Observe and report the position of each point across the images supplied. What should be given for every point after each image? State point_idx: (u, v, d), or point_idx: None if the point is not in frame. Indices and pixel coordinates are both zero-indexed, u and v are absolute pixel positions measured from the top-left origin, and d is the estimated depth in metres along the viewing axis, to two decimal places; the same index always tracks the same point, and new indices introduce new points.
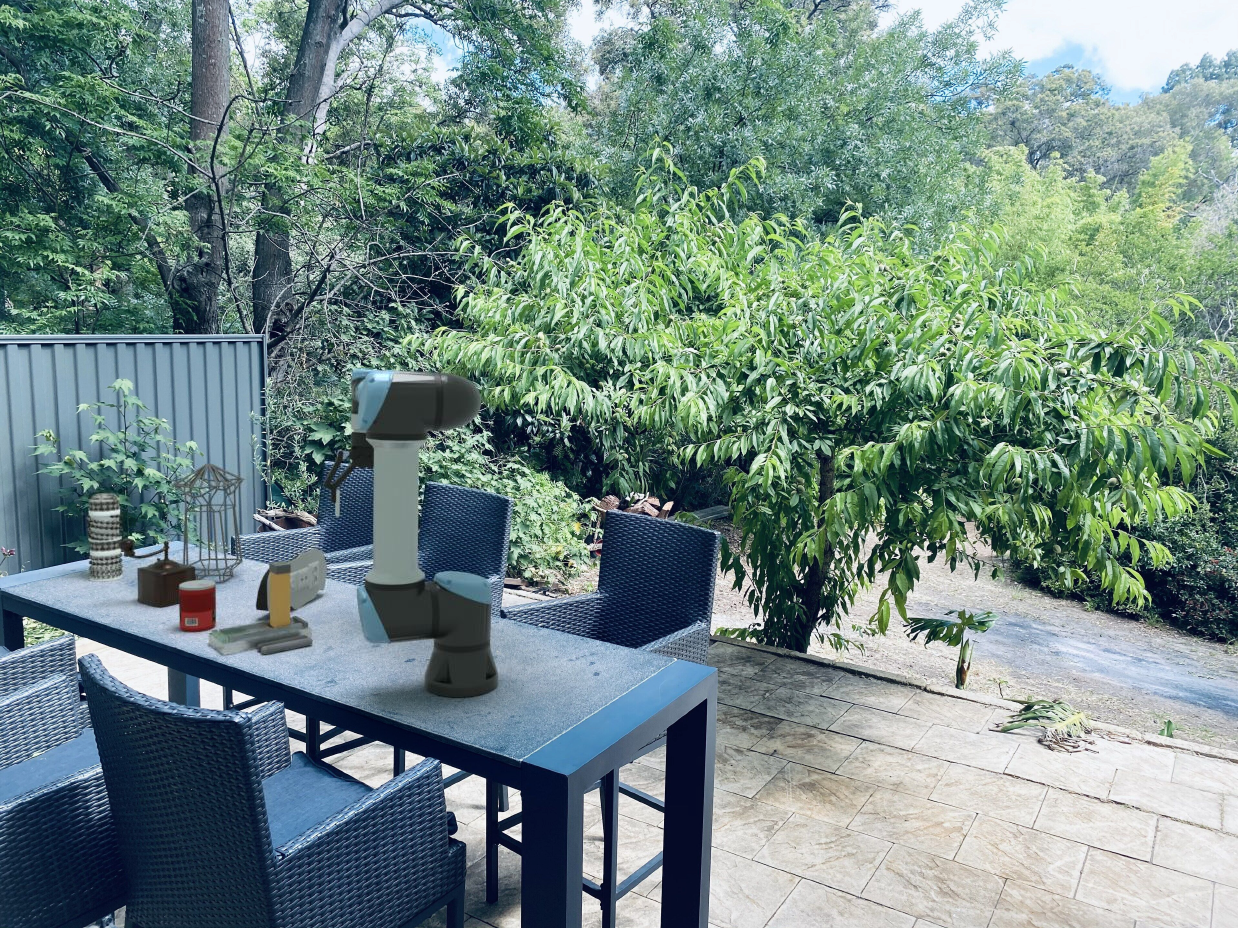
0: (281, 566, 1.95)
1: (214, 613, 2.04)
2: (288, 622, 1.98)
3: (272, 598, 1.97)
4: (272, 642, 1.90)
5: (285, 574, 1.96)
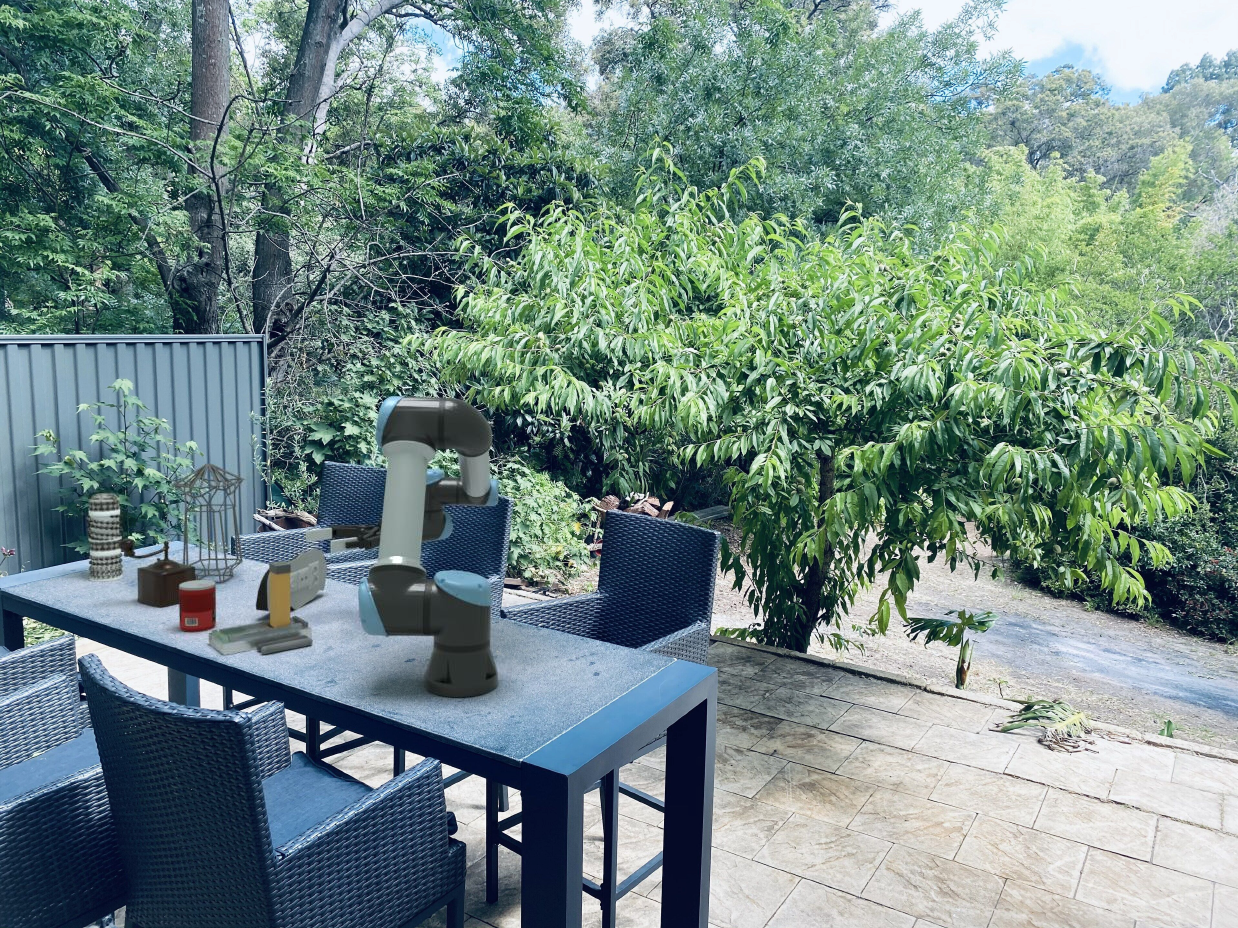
0: (281, 566, 1.95)
1: (214, 613, 2.04)
2: (288, 622, 1.98)
3: (272, 598, 1.97)
4: (272, 642, 1.90)
5: (285, 574, 1.96)
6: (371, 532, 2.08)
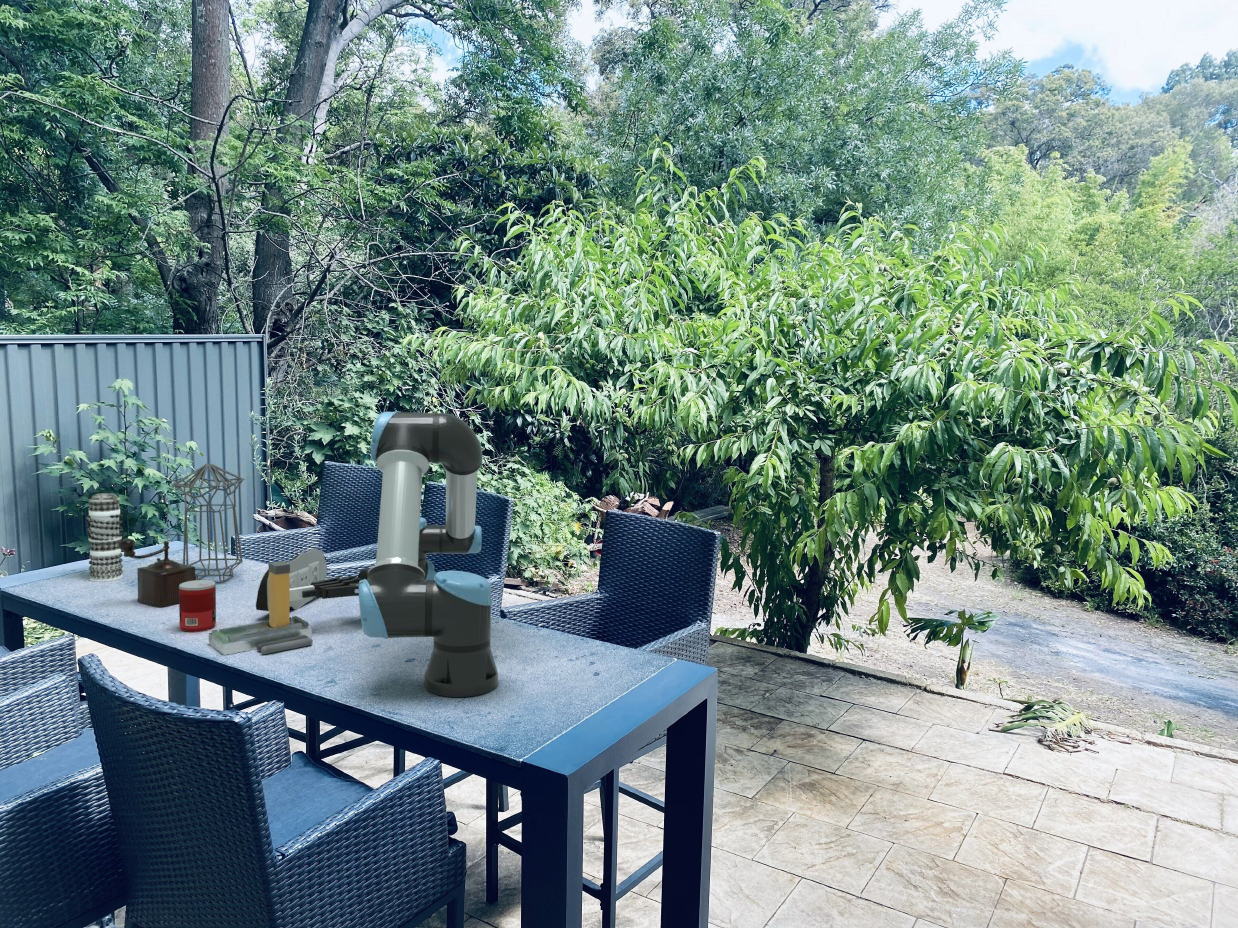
0: (280, 566, 1.95)
1: (214, 613, 2.04)
2: (287, 622, 1.98)
3: (271, 598, 1.97)
4: (272, 642, 1.90)
5: (284, 574, 1.96)
6: (343, 582, 2.07)
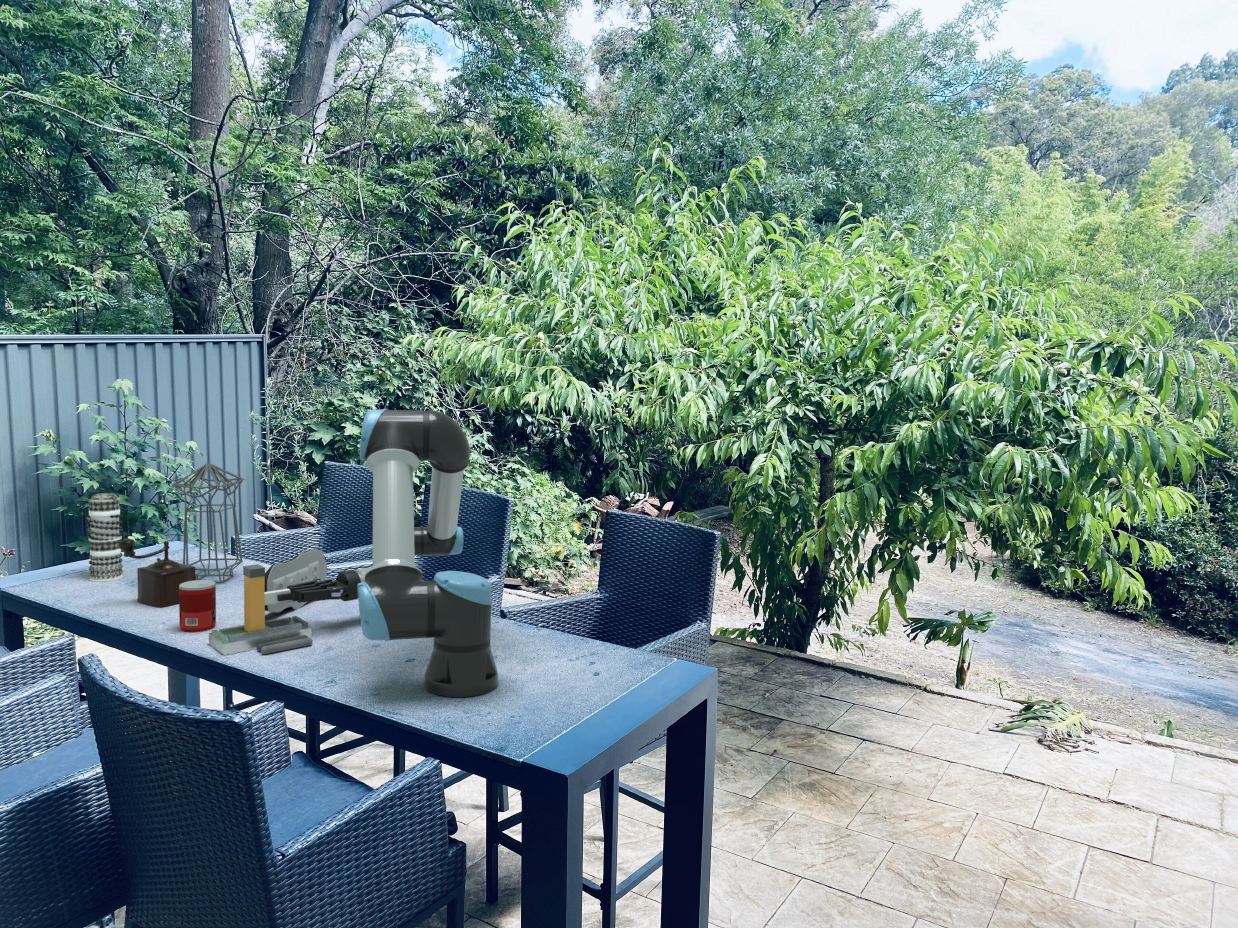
0: (255, 569, 1.91)
1: (214, 613, 2.04)
2: (262, 627, 1.94)
3: (246, 602, 1.93)
4: (272, 642, 1.90)
5: (259, 578, 1.92)
6: (320, 585, 2.03)
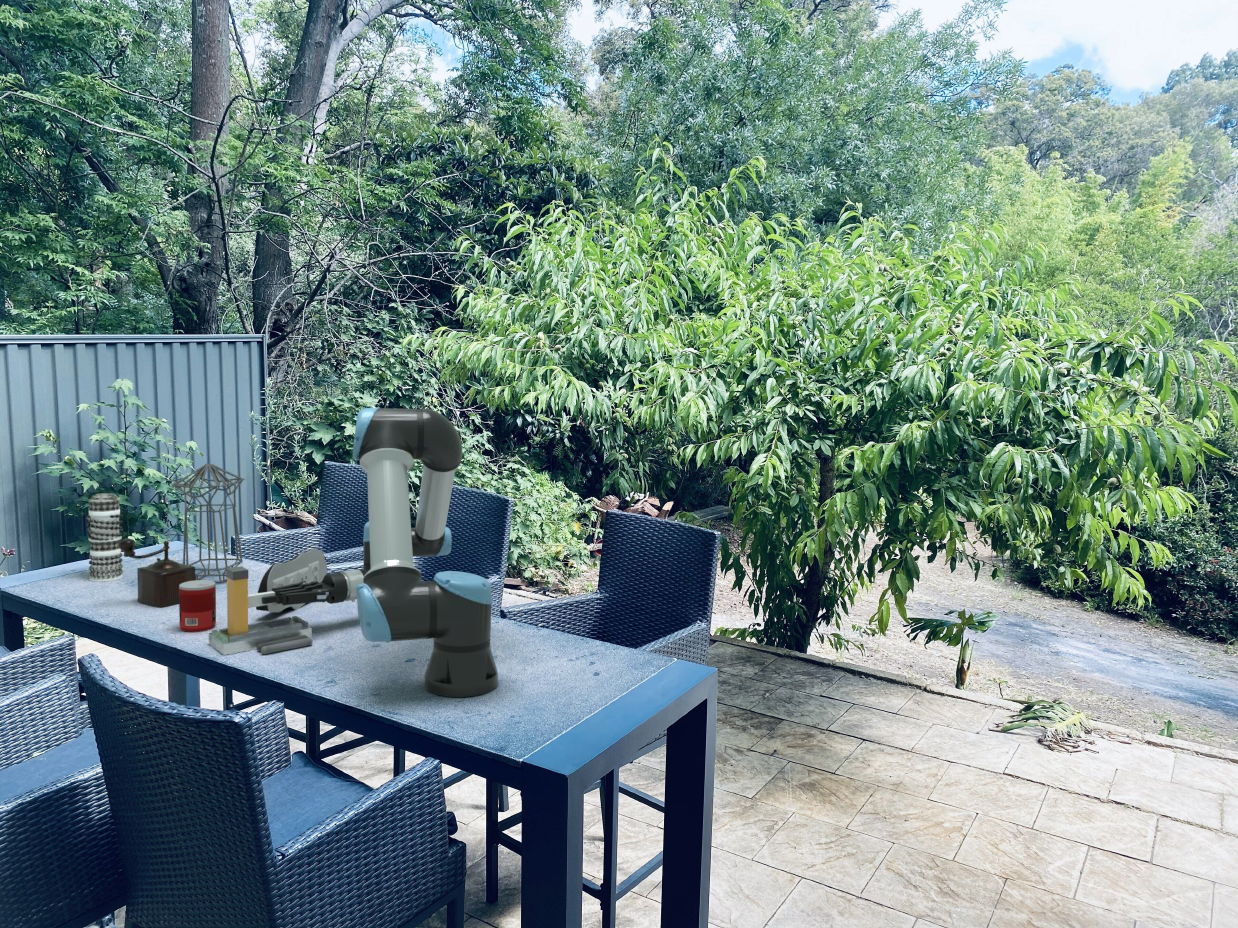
0: (238, 572, 1.88)
1: (214, 613, 2.04)
2: (246, 630, 1.91)
3: (229, 605, 1.90)
4: (272, 642, 1.90)
5: (242, 580, 1.89)
6: (305, 588, 2.01)
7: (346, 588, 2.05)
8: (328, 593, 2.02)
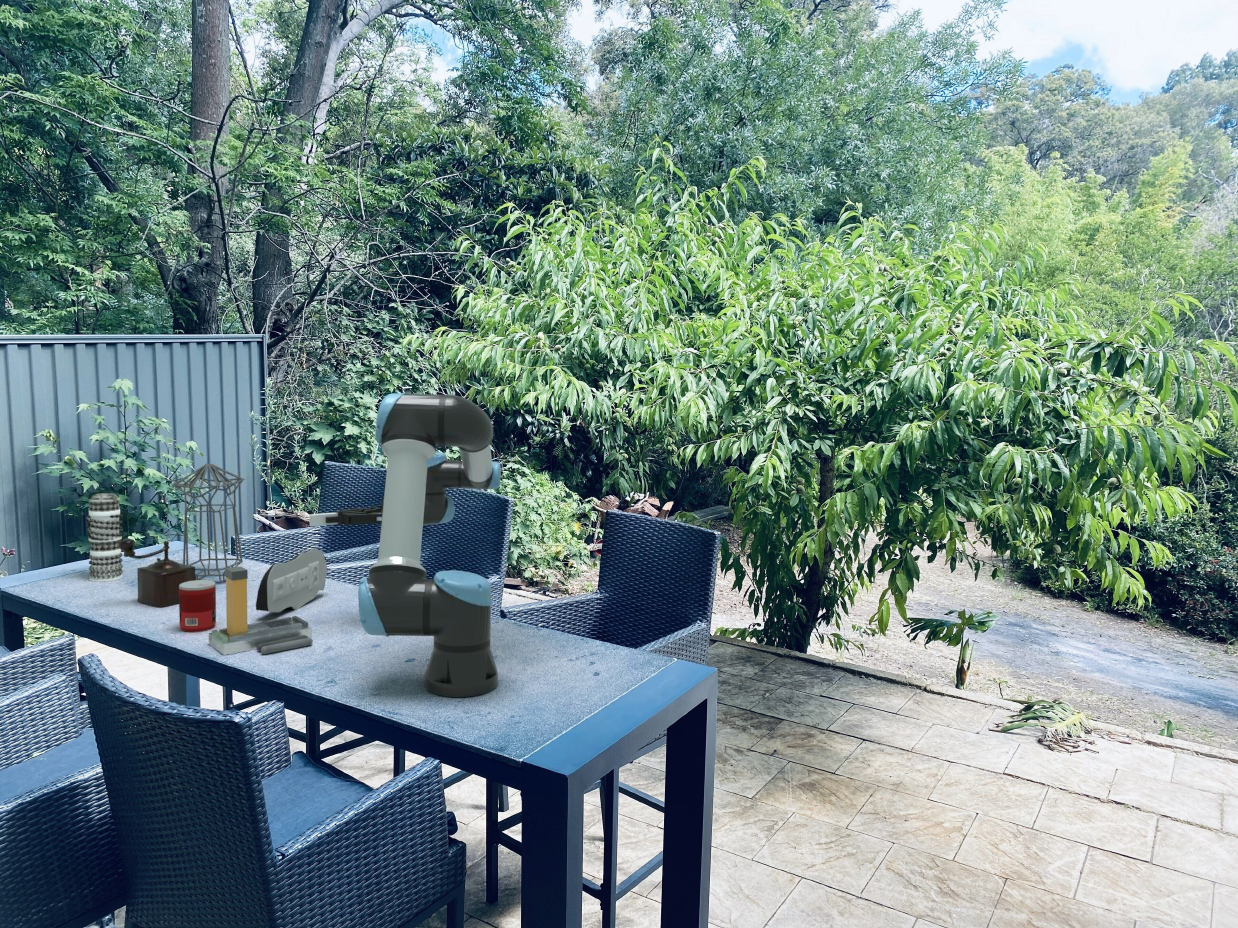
0: (237, 572, 1.88)
1: (214, 613, 2.04)
2: (245, 630, 1.91)
3: (228, 605, 1.90)
4: (272, 642, 1.90)
5: (241, 580, 1.89)
6: (365, 511, 2.10)
7: None
8: None
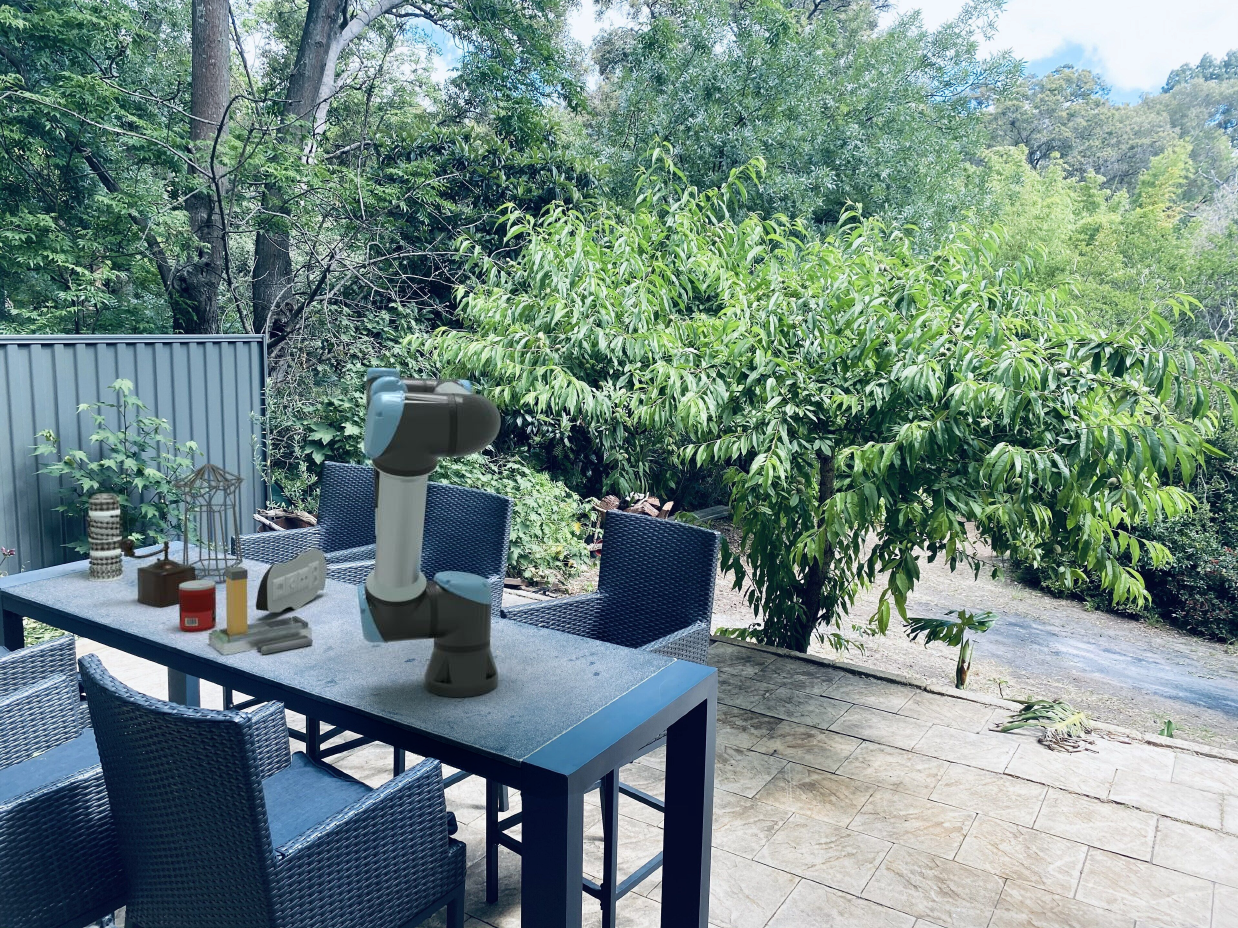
0: (237, 572, 1.88)
1: (214, 613, 2.04)
2: (245, 630, 1.91)
3: (228, 605, 1.90)
4: (272, 642, 1.90)
5: (241, 580, 1.89)
6: (376, 478, 1.92)
7: None
8: None
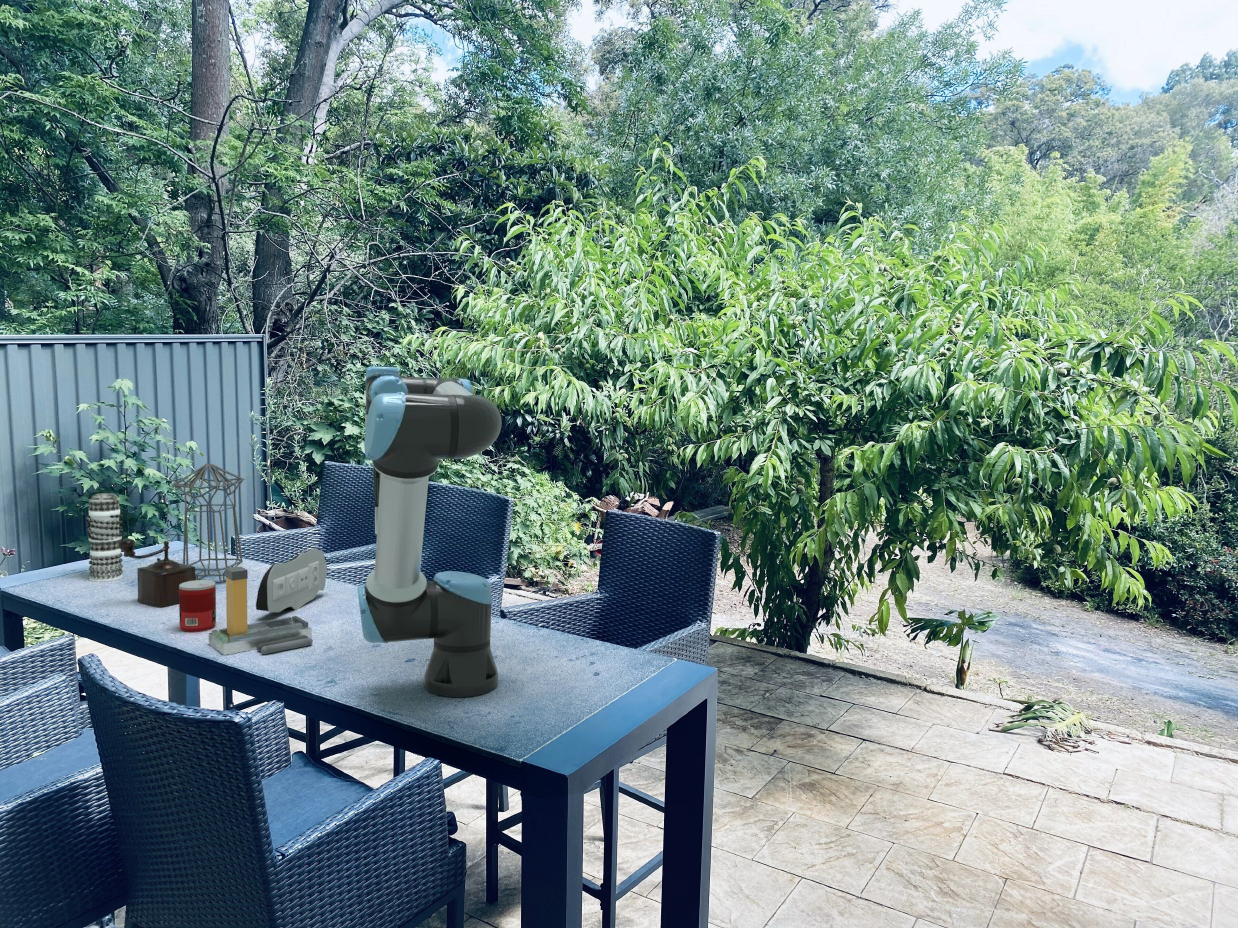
0: (237, 572, 1.88)
1: (214, 613, 2.04)
2: (245, 630, 1.91)
3: (228, 605, 1.90)
4: (272, 642, 1.90)
5: (241, 580, 1.89)
6: (376, 477, 1.92)
7: None
8: None
